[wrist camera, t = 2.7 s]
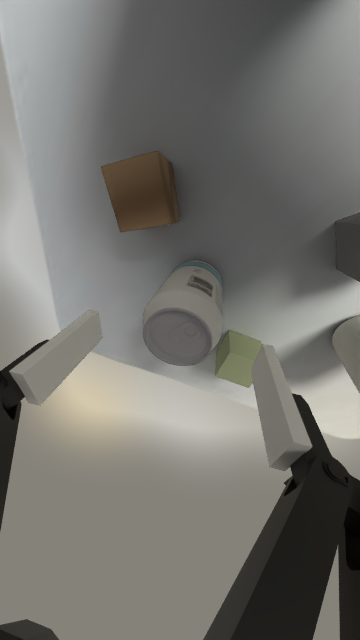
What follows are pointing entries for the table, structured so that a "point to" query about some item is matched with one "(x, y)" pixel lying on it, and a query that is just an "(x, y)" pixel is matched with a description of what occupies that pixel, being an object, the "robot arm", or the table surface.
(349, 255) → the charcoal block
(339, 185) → the table surface
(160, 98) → the table surface
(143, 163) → the walnut block
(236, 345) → the olive block
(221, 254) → the table surface
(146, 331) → the beverage can
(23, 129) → the table surface
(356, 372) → the cup
